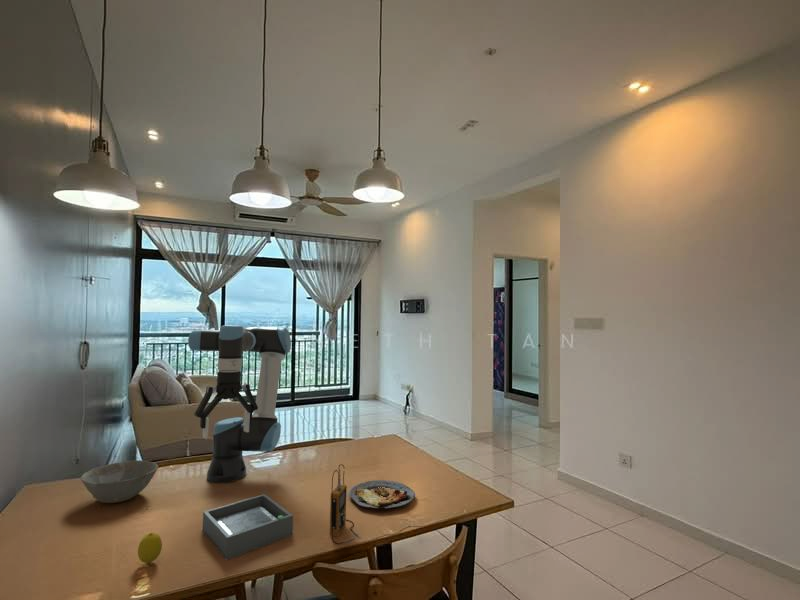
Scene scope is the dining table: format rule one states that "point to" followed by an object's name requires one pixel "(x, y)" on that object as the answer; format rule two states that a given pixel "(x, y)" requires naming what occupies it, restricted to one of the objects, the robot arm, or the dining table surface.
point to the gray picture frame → (245, 520)
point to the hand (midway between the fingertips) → (226, 434)
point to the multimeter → (338, 509)
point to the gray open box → (249, 537)
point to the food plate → (371, 500)
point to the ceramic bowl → (119, 480)
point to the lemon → (149, 548)
